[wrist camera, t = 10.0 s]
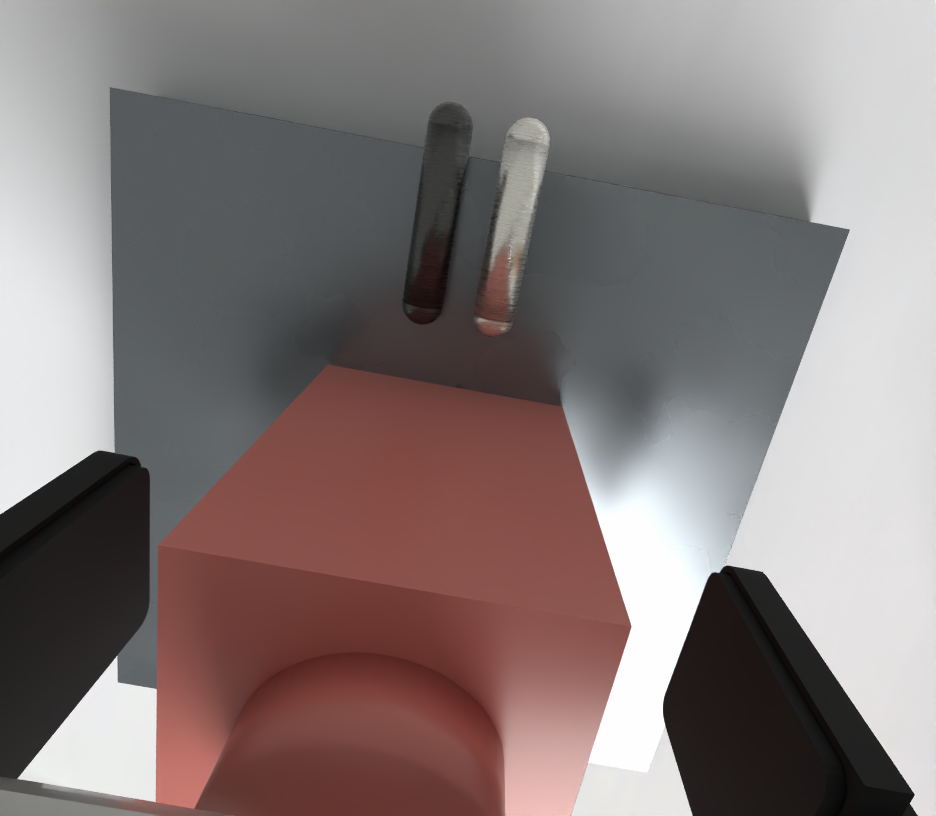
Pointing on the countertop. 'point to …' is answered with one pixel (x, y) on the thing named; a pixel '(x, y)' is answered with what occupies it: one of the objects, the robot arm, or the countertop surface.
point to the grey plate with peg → (458, 330)
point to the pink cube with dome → (388, 612)
